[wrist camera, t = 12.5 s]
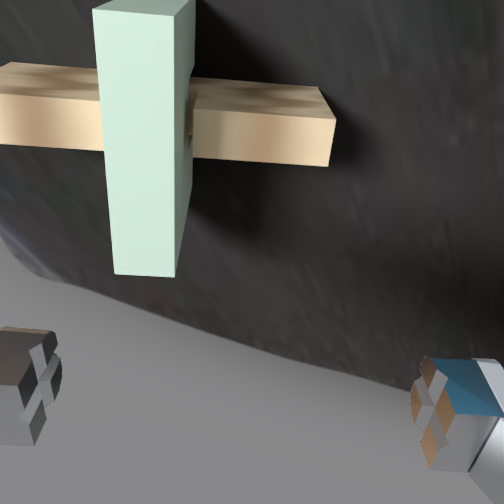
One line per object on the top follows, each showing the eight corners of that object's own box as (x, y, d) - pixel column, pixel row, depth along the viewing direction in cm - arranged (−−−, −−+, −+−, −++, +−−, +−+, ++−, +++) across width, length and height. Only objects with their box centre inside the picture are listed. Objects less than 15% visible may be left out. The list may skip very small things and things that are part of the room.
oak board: (317, 87, 35) (336, 119, 29) (311, 126, 37) (327, 166, 30) (11, 61, 34) (-46, 90, 27) (18, 104, 35) (-34, 141, 29)
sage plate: (195, -7, 32) (173, 16, 21) (192, 185, 39) (174, 277, 28) (142, -12, 32) (92, 9, 21) (149, 182, 39) (114, 273, 28)
